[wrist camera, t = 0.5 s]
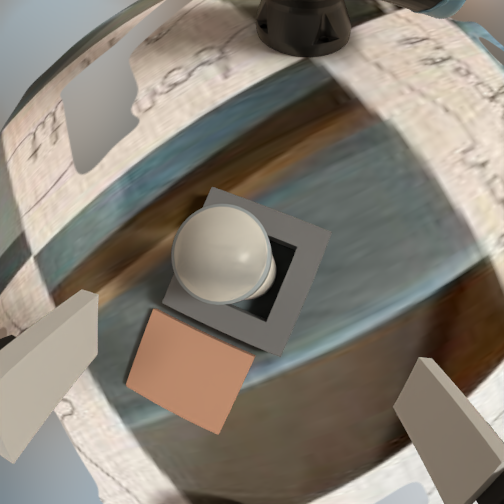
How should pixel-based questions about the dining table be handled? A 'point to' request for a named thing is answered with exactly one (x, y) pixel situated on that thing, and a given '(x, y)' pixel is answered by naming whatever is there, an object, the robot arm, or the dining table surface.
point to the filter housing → (291, 292)
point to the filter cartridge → (223, 255)
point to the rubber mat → (188, 371)
